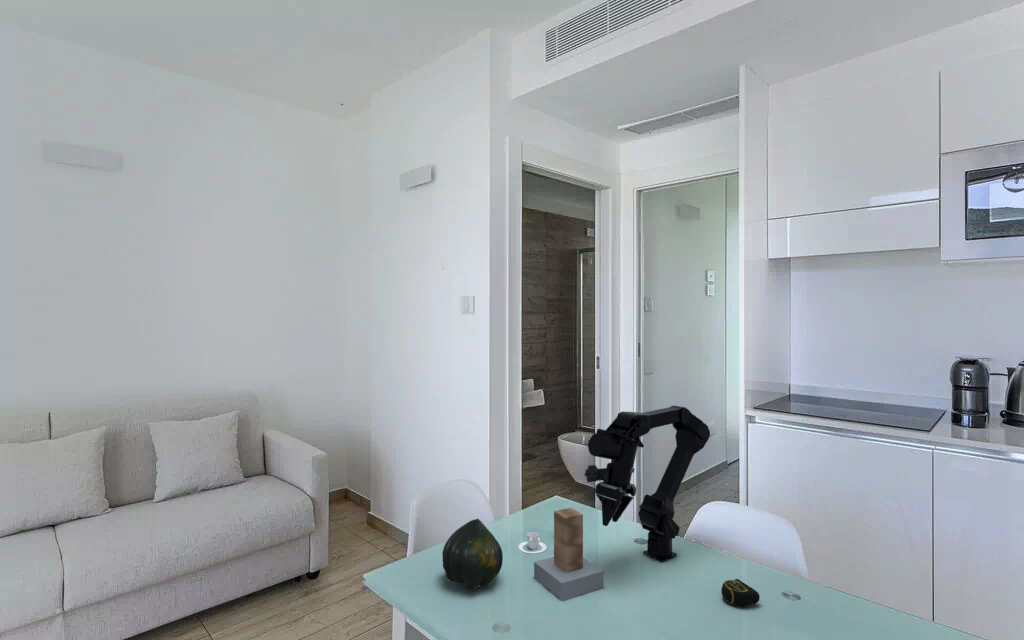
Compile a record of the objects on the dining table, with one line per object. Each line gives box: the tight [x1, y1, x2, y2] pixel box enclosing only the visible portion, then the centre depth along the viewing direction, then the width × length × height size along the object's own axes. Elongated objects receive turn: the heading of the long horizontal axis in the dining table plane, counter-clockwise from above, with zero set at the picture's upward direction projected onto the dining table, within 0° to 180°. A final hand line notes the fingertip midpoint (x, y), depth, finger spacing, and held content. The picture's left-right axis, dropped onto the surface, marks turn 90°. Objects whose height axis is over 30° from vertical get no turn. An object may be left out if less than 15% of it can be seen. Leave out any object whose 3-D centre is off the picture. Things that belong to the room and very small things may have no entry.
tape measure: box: [720, 578, 761, 608], centre depth 120 cm, size 7×7×4 cm
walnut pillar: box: [553, 507, 584, 573], centre depth 128 cm, size 5×5×13 cm
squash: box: [441, 518, 504, 591], centre depth 130 cm, size 14×15×15 cm
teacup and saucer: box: [517, 531, 548, 555], centre depth 149 cm, size 9×8×4 cm
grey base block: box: [533, 556, 605, 602], centre depth 129 cm, size 12×12×4 cm
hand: (609, 523), depth 134 cm, fingers open, 9 cm apart
